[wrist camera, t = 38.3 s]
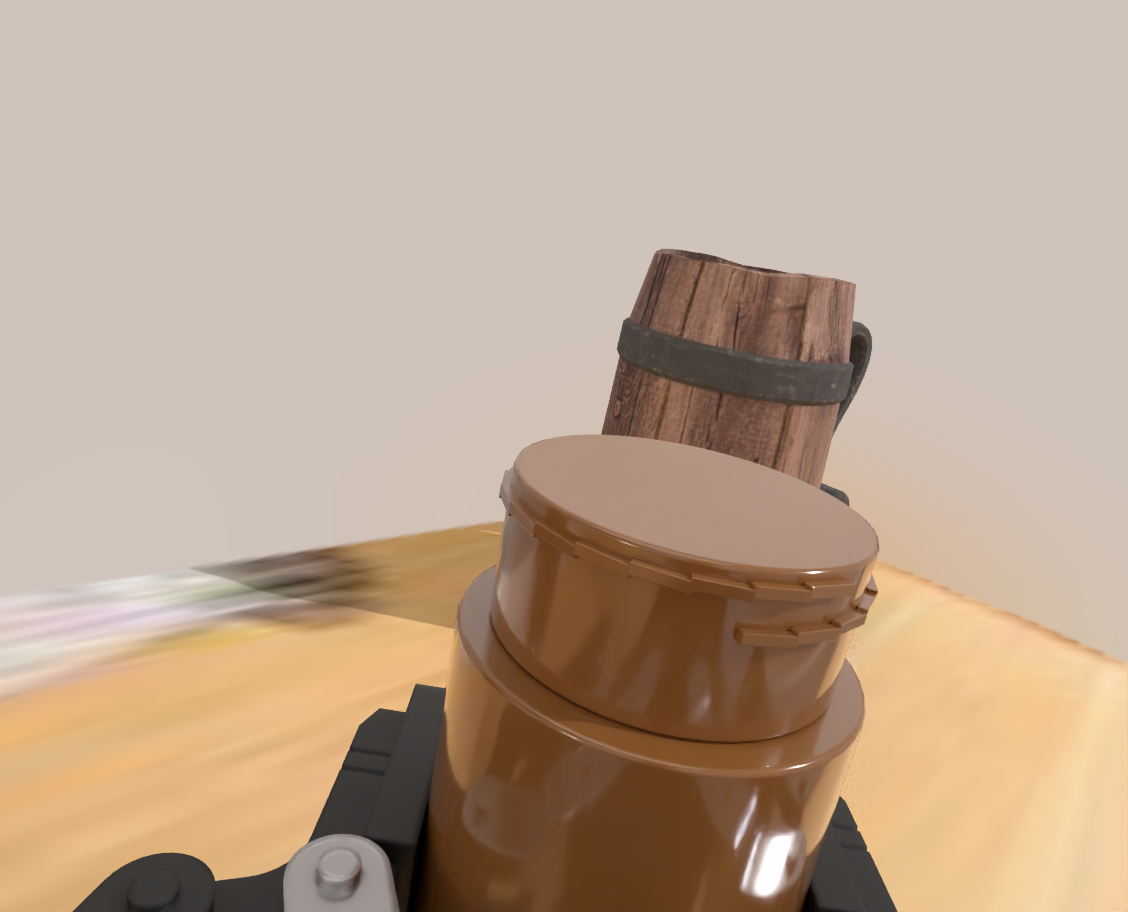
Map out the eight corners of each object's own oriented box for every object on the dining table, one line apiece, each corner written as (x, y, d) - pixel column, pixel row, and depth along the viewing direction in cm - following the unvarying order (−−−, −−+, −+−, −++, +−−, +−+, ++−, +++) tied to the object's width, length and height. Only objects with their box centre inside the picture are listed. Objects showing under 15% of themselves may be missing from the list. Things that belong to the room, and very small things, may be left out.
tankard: (682, 744, 33) (801, 276, 27) (471, 573, 45) (522, 222, 39) (930, 630, 48) (1040, 313, 42) (722, 524, 60) (786, 266, 54)
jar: (331, 1111, 14) (420, 418, 10) (577, 1007, 16) (718, 429, 13) (428, 1539, 10) (639, 615, 6) (737, 1306, 12) (1016, 570, 9)
